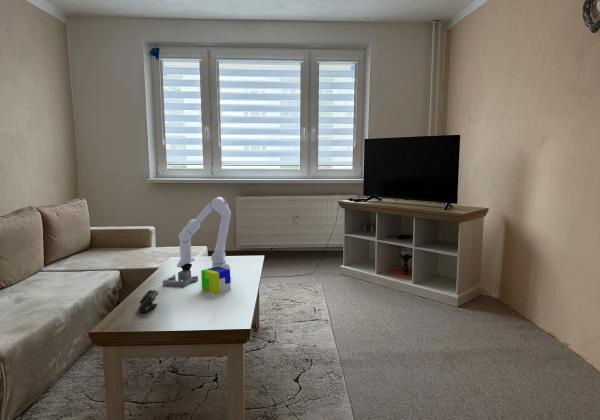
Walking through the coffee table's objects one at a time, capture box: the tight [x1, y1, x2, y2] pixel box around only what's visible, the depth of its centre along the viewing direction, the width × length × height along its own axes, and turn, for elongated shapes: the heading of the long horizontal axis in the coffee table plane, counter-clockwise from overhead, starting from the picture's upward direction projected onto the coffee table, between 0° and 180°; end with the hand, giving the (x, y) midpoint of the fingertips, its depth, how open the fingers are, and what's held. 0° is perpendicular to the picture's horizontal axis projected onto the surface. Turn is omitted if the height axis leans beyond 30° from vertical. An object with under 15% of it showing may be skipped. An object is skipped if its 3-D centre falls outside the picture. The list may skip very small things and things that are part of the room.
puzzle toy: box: [200, 267, 232, 295], centre depth 206 cm, size 10×10×10 cm
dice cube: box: [177, 269, 192, 281], centre depth 222 cm, size 5×5×5 cm
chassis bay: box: [162, 274, 199, 288], centre depth 218 cm, size 13×15×3 cm
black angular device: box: [137, 289, 159, 314], centre depth 179 cm, size 12×8×7 cm
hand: (186, 277), depth 225 cm, fingers closed, pressing on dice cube
